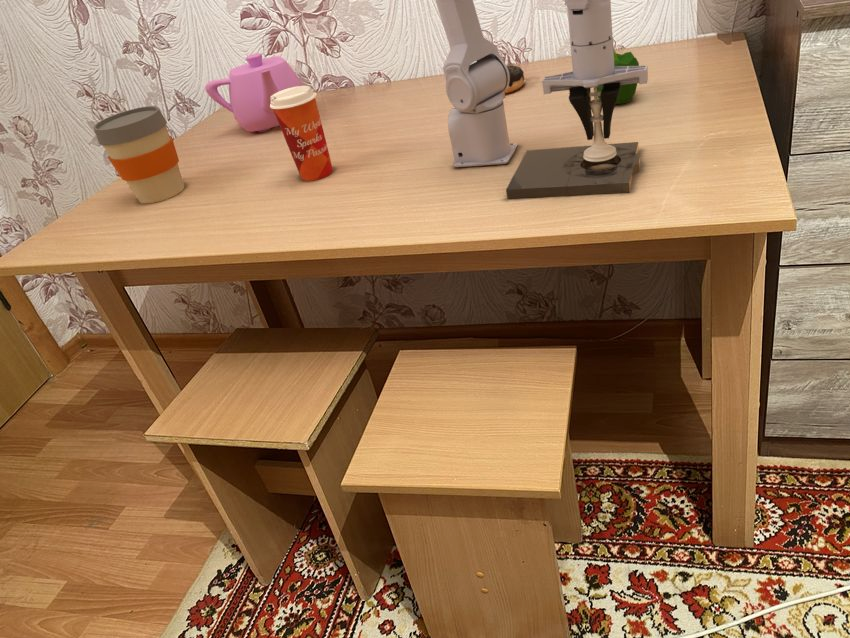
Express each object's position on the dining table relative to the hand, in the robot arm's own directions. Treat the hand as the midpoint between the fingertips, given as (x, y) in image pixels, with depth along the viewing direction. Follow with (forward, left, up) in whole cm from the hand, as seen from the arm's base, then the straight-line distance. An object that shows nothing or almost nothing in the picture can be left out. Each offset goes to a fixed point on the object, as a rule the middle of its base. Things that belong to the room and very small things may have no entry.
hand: (598, 136), depth 103 cm
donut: (-28, +47, -6) cm, 55 cm away
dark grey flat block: (-4, 0, -5) cm, 7 cm away
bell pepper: (-1, +32, -6) cm, 33 cm away
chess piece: (0, 0, -3) cm, 3 cm away
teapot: (-80, +40, -6) cm, 90 cm away
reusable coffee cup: (-86, +3, -6) cm, 86 cm away
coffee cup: (-53, +7, -6) cm, 54 cm away
